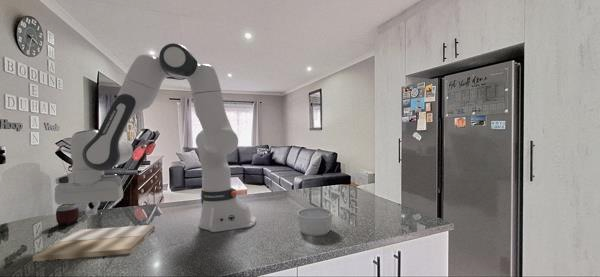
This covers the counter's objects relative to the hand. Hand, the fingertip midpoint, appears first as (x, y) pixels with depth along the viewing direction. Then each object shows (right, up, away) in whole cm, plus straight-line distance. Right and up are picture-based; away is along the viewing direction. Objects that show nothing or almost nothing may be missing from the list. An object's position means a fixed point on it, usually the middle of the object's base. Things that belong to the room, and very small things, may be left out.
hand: (91, 214), depth 94 cm
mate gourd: (-20, -8, +14) cm, 26 cm away
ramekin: (+80, -8, +5) cm, 80 cm away
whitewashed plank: (+7, -8, 0) cm, 10 cm away
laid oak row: (+8, -9, -10) cm, 16 cm away
